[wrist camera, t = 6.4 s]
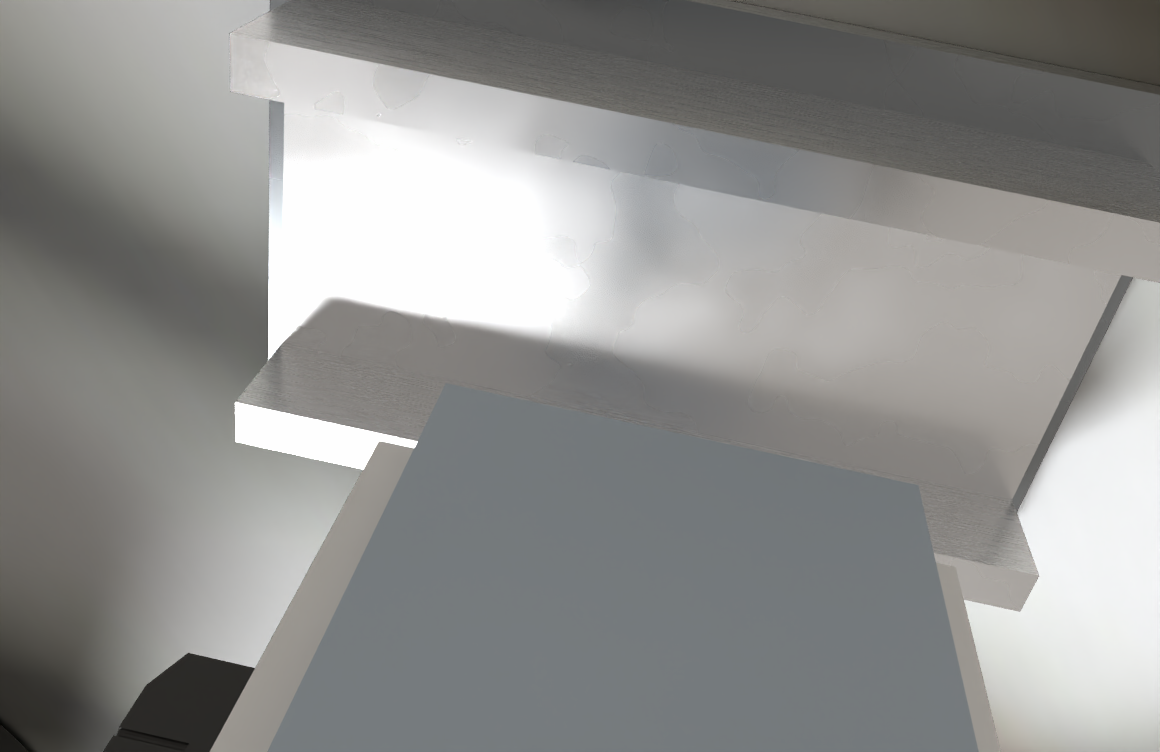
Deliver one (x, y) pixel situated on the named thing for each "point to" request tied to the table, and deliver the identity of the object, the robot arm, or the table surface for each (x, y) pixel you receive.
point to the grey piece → (697, 237)
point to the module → (631, 601)
